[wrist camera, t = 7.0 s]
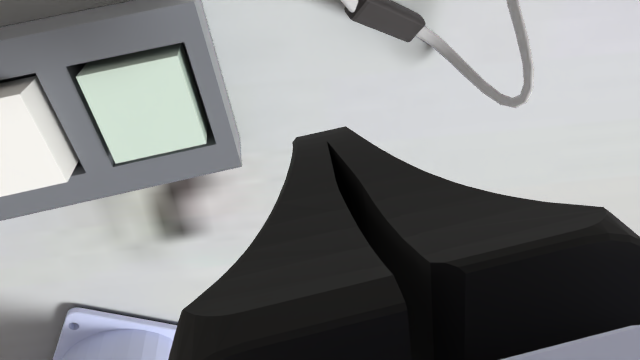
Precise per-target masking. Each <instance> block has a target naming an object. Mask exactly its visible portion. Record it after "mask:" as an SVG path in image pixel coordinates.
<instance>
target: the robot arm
mask: <svg viewBox="0 0 640 360" xmlns="http://www.w3.org/2000/svg"><path fill="white" fill-rule="evenodd" d="M74 323H77V324H74ZM53 360H640V237H639V236H638V235H637V234H636V233H634V232H633V231H632V230H631V229H630V228H628V227H627V226H626V225H625V224H624V223H622V222H621V221H620V220H619V219H618V218H616V217H615V216H614V215H613V214H612V213H610V212H609V211H608V210H606V209H605V208H604V207H595V206H584V205H572V204H561V203H550V202H542V201H535V200H529V199H523V198H517V197H511V196H506V195H501V194H496V193H492V192H488V191H484V190H480V189H476V188H472V187H468V186H465V185H462V184H458V183H455V182H452V181H449V180H446V179H444V178H441V177H438V176H435V175H433V174H430V173H428V172H425V171H423V170H420V169H418V168H416V167H414V166H412V165H410V164H408V163H406V162H404V161H402V160H400V159H398V158H396V157H394V156H392V155H390V154H389V153H387V152H385V151H383V150H382V149H380V148H378V147H377V146H375V145H373V144H372V143H370V142H368V141H367V140H365V139H364V138H362V137H361V136H359V135H358V134H356V133H355V132H353V131H352V130H350V129H349V128H347V127H341V128H337V129H332V130H328V131H323V132H319V133H314V134H310V135H305V136H301V137H296V139H295V140H294V141H293V153H292V158H291V163H290V167H289V170H288V173H287V177H286V180H285V183H284V185H283V188H282V190H281V192H280V195H279V197H278V199H277V202H276V204H275V206H274V208H273V210H272V212H271V214H270V215H269V217H268V219H267V221H266V222H265V224H264V226H263V227H262V229H261V230H260V232H259V233H258V235H257V236H256V238H255V239H254V240H253V242H252V243H251V245H250V246H249V247H248V249H247V250H246V251H245V252H244V254H243V255H242V256H241V257H240V258H239V259H238V260H237V261H236V263H235V264H234V265H233V266H232V267H231V268H230V269H229V270H228V271H227V272H226V273H225V274H224V275H223V276H222V277H221V278H220V279H219V280H218V281H216V282H215V283H214V284H213V285H212V286H211V287H209V288H208V289H207V290H206V291H205V292H204V293H202V294H201V295H200V296H199V297H198V298H197V299H195V300H194V301H193V302H192V303H191V304H189V305H188V306H187V307H185V308H184V309H183V310H182V312H181V315H180V318H179V322H178V325H172V324H167V323H161V322H156V321H150V320H145V319H139V318H134V317H128V316H123V315H117V314H112V313H106V312H101V311H95V310H90V309H84V308H72V309H70V310H69V311H68V312H67V315H66V318H65V321H64V324H63V327H62V331H61V334H60V337H59V340H58V344H57V347H56V350H55V353H54V357H53Z"/></svg>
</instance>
